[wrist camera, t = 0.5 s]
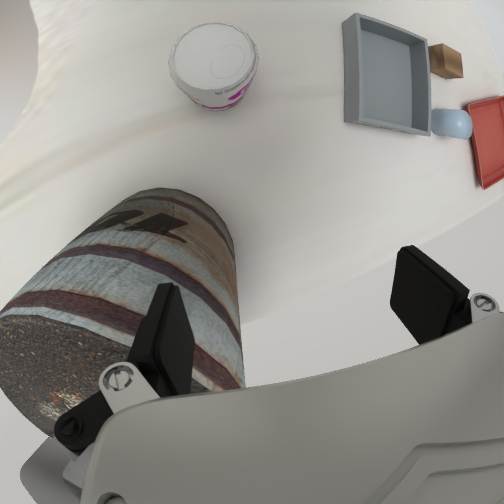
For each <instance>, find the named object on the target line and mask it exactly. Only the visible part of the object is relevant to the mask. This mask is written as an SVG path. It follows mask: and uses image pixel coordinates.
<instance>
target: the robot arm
mask: <svg viewBox="0 0 504 504" xmlns="http://www.w3.org/2000/svg"><path fill="white" fill-rule="evenodd" d="M469 291H470V290H469V289H468V288H467V287H465V286H464V285H463V284H462V283H461V282H460V281H458V280H457V279H456V278H455V277H453V276H452V275H451V274H450V273H449V272H447V271H446V270H445V269H444V268H443V267H441V266H440V265H439V264H437V263H436V262H435V261H434V260H432V259H431V258H430V257H428V256H427V255H426V254H424V253H423V252H422V251H421V250H419V249H418V248H417V247H415V246H413V245H411V246H405V247H402V248H401V249H400V251H398V253H397V260H396V268H395V275H394V281H393V287H392V294H391V298H390V306H391V308H392V310H393V311H394V312H395V313H396V315H397V316H398V318H400V320H401V321H402V323H403V324H404V325H405V326H406V328H407V329H408V330H409V332H410V333H411V334H412V335H413V337H414V338H415V340H416V341H417V342H418V344H419V345H418V346H415V347H413V348H410V349H407V350H404V351H401V352H398V353H396V354H392V355H389V356H386V357H383V358H380V359H377V360H373V361H370V362H367V363H363V364H359V365H356V366H352V367H349V368H345V369H341V370H337V371H333V372H329V373H324V374H320V375H316V376H311V377H307V378H301V379H297V380H291V381H286V382H281V383H275V384H269V385H262V386H255V387H248V388H241V389H233V390H224V391H215V392H205V393H196V394H190V392H191V380H192V369H193V359H194V349H195V338H194V334H193V331H192V328H191V325H190V322H189V319H188V316H187V312H186V309H185V306H184V303H183V299H182V296H181V292H180V289H179V286H178V285H174V284H173V283H172V282H169V283H161V284H158V286H157V288H156V291H155V293H154V296H153V299H152V301H151V304H150V306H149V309H148V312H147V315H146V317H144V318H142V320H141V322H140V324H139V327H138V330H137V333H136V335H135V338H134V341H133V344H132V347H131V350H130V352H129V355H128V358H127V361H126V362H119V363H115V364H113V365H110V366H109V367H108V368H106V369H105V370H104V371H103V372H102V374H101V376H100V378H99V386H100V389H101V390H100V391H98V392H96V393H95V394H93V395H92V396H90V397H89V398H87V399H86V400H84V401H82V402H81V403H79V404H78V405H76V406H75V407H73V408H71V409H70V410H68V411H67V412H65V413H63V414H62V415H61V416H60V417H59V418H58V419H57V421H56V423H55V426H54V434H55V436H54V437H53V438H52V439H51V438H50V437H48V438H47V439H46V440H45V441H44V442H43V444H42V445H41V446H40V447H39V448H38V449H37V450H36V451H35V452H34V454H33V455H32V456H31V457H30V458H29V459H28V460H27V461H26V462H25V463H24V465H23V466H22V468H21V471H20V479H21V481H22V484H23V485H24V486H25V488H26V490H27V491H28V492H29V494H30V495H31V496H32V497H33V499H34V500H35V501H36V503H37V504H504V313H503V312H500V310H499V306H498V303H497V302H496V300H495V299H494V298H492V297H491V296H489V295H487V294H483V293H475V294H474V295H472V296H471V298H470V300H469V299H468V298H467V297H468V294H469Z"/></svg>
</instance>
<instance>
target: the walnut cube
mask: <svg viewBox="0 0 504 504" xmlns="http://www.w3.org/2000/svg"><path fill="white" fill-rule="evenodd" d="M428 53H429V64H430V72H432V73H434V74H436V75H438V76H441V77H443V78H445V79H452V78H463V68H462V58H461V54H460V53H459V52H457V51H455V50H454V49H452V48H450V47H448V46H446V45H445V44H443V43H442V44H438V45H434V46H430V47H428Z"/></svg>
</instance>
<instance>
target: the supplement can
mask: <svg viewBox="0 0 504 504" xmlns="http://www.w3.org/2000/svg"><path fill="white" fill-rule="evenodd" d="M258 59H259V57H258V52H257V48H256V45H255V43H254V42H253V40H252V39H251V37H250V36H249V35H248V34H247V33H246V32H244V31H243V30H241V29H240V28H238V27H236V26H234V25H231V24H227V23H223V22H207V23H203V24H200V25H198V26H195V27H192V28H191V29H190V30H188V31H187V32H186V33H184V34H183V35H182V36H181V37H179V39H178V40H177V42H176V43H175V45H174V46H173V48H172V49H171V53H170V57H169V61H168V64H169V70H170V75H171V77H172V78H173V80H174V81H175V83H176V84H177V86H178V87H179V88H180V89H181V90H182V91H183V92H184V93H185V94H186V95H187V96H188V97H189V98H190V99H191V100H193V101H194V102H195V103H196V104H198V105H199V106H200V107H202V108H204V109H208V110H211V111H219V110H225V109H228V108H231V107H233V106H234V105H236V104H237V103H238V102H240V101H241V100H242V98H243V96H244V95H245V93H246V92H247V89H248V87H249V85H250V83H251V81H252V79H253V77H254V75H255V73H256V69H257V64H258Z"/></svg>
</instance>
